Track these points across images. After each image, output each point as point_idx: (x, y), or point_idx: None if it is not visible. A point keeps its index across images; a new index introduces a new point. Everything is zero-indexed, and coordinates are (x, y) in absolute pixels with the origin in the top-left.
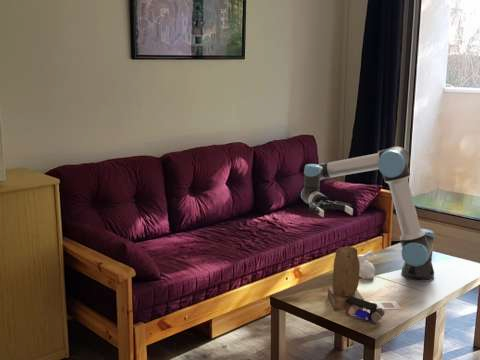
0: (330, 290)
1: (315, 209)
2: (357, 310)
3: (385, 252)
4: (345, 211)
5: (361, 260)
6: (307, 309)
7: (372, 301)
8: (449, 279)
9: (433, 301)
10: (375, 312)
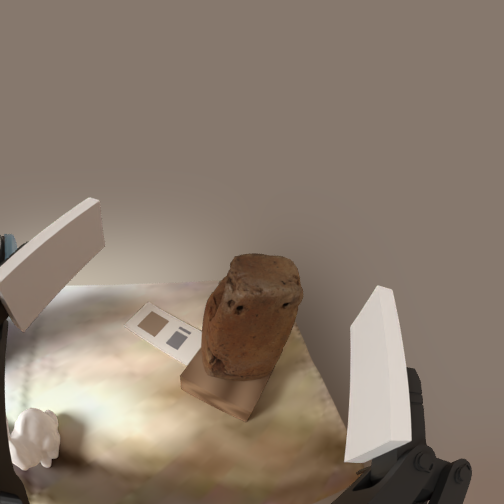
0: (259, 393)
1: (422, 412)
2: None
3: None
4: (31, 320)
5: (23, 447)
6: (324, 394)
7: (164, 350)
8: None
9: (73, 287)
10: None
